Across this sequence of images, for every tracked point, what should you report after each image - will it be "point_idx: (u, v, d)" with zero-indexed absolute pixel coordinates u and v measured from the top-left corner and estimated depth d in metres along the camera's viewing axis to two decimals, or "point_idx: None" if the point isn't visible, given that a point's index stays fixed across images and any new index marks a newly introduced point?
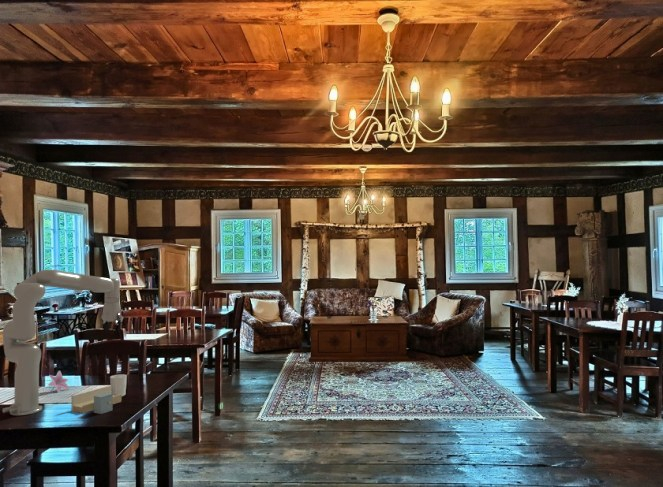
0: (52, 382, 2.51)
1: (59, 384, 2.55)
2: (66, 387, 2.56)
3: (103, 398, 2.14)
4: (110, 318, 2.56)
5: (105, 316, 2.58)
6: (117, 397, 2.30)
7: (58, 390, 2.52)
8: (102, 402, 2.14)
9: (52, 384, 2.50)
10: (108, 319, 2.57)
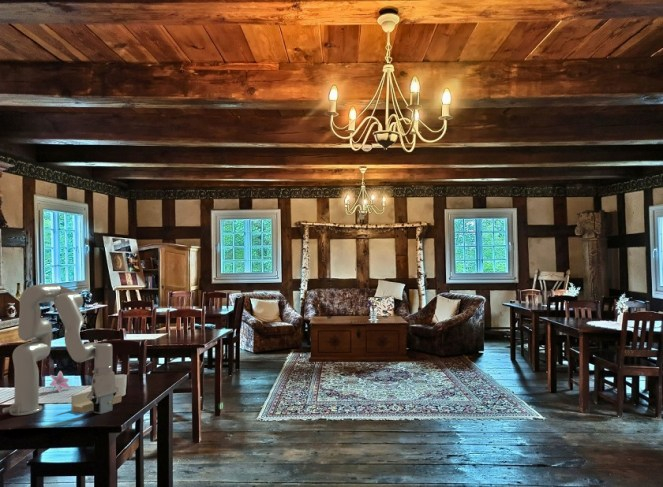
0: (53, 382, 2.51)
1: (60, 384, 2.56)
2: (67, 387, 2.56)
3: (103, 398, 2.14)
4: (111, 390, 2.18)
5: (103, 390, 2.14)
6: (117, 397, 2.30)
7: (59, 390, 2.52)
8: (102, 402, 2.14)
9: (53, 384, 2.50)
10: (108, 392, 2.16)
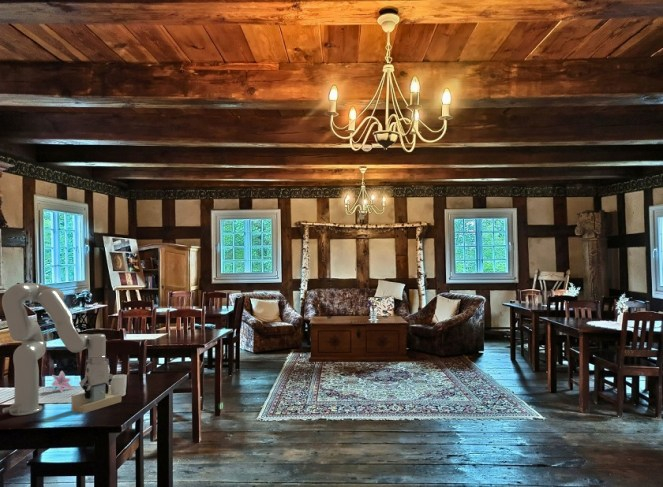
0: (55, 382, 2.52)
1: (62, 384, 2.56)
2: (69, 387, 2.57)
3: (96, 388, 2.23)
4: (104, 379, 2.26)
5: (97, 379, 2.23)
6: (117, 397, 2.30)
7: (61, 390, 2.52)
8: (95, 391, 2.22)
9: (55, 384, 2.51)
10: (102, 381, 2.25)
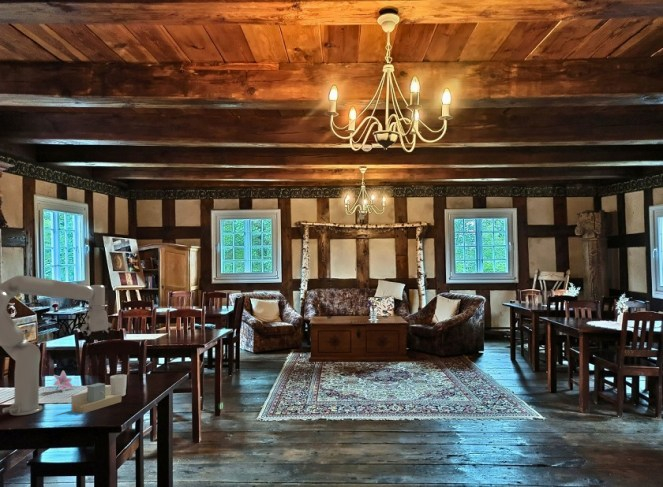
0: (57, 382, 2.52)
1: (63, 384, 2.56)
2: (70, 387, 2.57)
3: (96, 388, 2.23)
4: (104, 326, 2.43)
5: (96, 325, 2.40)
6: (117, 397, 2.30)
7: (63, 390, 2.53)
8: (95, 391, 2.22)
9: (57, 384, 2.51)
10: (101, 328, 2.42)
